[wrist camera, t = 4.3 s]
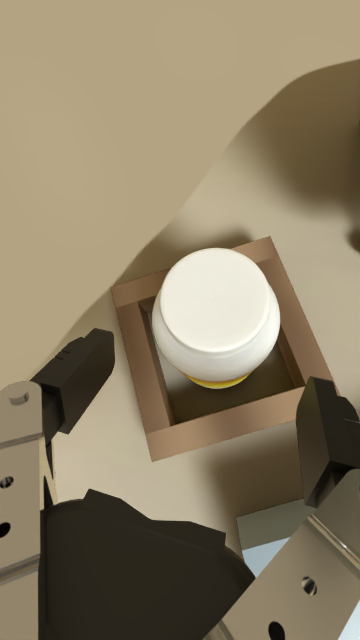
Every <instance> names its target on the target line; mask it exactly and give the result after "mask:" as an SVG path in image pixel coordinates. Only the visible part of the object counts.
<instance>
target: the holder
mask: <svg viewBox="0 0 360 640" xmlns="http://www.w3.org/2000/svg"><path fill="white" fill-rule="evenodd" d="M230 250H233V251H236V252H239V253H241V254H243V255H245V256H246V257H248V258H249V259H251V260H252V261H253V262H254V263H255V264H256V265H257V266H258V267H259V269H260V270H261V271H262V273H263V274H264V276H265V278H266V280H267V282H268V284H269V285H270V287H271V288H272V290H273V292H274V294H275V296H276V299H277V302H278V305H279V310H280V328H279V333H278V337H277V340H276V341H277V343H278V346H279V348H280V351H281V353H282V356H283V358H284V361H285V364H286V366H287V369H288V371H289V374H290V376H291V379H292V381H293V384H294V386H295V388H293V389H289V390H286V391H283V392H279V393H276V394H273V395H270V396H266V397H263V398H260V399H256V400H253V401H250V402H246V403H243V404H240V405H236V406H233V407H230V408H226V409H223V410H220V411H216V412H213V413H210V414H206V415H203V416H200V417H196V418H193V419H190V420H187V421H183V422H180V423H177V424H176V420H175V417H174V413H173V409H172V406H171V402H170V398H169V394H168V391H167V387H166V383H165V379H164V376H163V372H162V368H161V365H160V361H159V357H158V353H157V350H156V346H155V342H154V339H153V335H152V331H151V327H150V324H149V320H148V316H147V313H146V312H149V311H152V310H153V306H154V303H155V300H156V297H157V295H158V293H159V291H160V289H161V287H162V284H163V282H164V280H165V277H166V276H167V274H168V273H169V271H170V270H171V268H170V269H167V270H164V271H161V272H158V273H154V274H151V275H148V276H145V277H142V278H139V279H136V280H133V281H130V282H127V283H124V284H121V285H118V286H114V287H111V291H112V295H113V299H114V304H115V308H116V312H117V316H118V320H119V325H120V329H121V333H122V337H123V342H124V346H125V350H126V354H127V359H128V363H129V367H130V371H131V375H132V380H133V384H134V388H135V392H136V397H137V401H138V405H139V409H140V414H141V418H142V422H143V426H144V430H145V435H146V439H147V443H148V447H149V452H150V456H151V460H152V462H154V461H157V460H161V459H164V458H167V457H171V456H174V455H177V454H181V453H184V452H188V451H191V450H194V449H198V448H201V447H204V446H208V445H211V444H215V443H218V442H221V441H225V440H228V439H231V438H235V437H238V436H242V435H245V434H248V433H252V432H255V431H258V430H262V429H265V428H269V427H272V426H275V425H279V424H282V423H285V422H289V421H292V420H295V419H296V411H297V406H298V403H299V401H300V398H301V396H302V393H303V391H304V388H305V386H306V383H307V381H308V379H309V377H310V376H314V377H319V378H323V379H328V380H332V381H333V382H334V380H333V378H332V376H331V373H330V371H329V369H328V367H327V364H326V362H325V360H324V357H323V355H322V353H321V351H320V348H319V346H318V344H317V342H316V339H315V337H314V335H313V332H312V330H311V328H310V326H309V323H308V321H307V319H306V317H305V314H304V312H303V310H302V307H301V305H300V303H299V301H298V298H297V296H296V294H295V292H294V289H293V287H292V285H291V282H290V280H289V278H288V276H287V273H286V271H285V269H284V267H283V264H282V262H281V260H280V257H279V255H278V253H277V251H276V248H275V246H274V244H273V242H272V239H271V237H270V236H268V237H265V238H262V239H259V240H256V241H253V242H250V243H247V244H244V245H241V246H238V247H235V248H231V249H230ZM334 385H335V382H334ZM335 389H336V392H337V396H340V394H339V392H338V389H337V387H336V385H335Z"/></svg>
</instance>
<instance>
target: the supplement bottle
mask: <svg viewBox="0 0 360 640" xmlns="http://www.w3.org/2000/svg"><path fill="white" fill-rule="evenodd" d="M152 327H153V333H154V336H155V340H156V342H157V344H158V346H159V348H160V350H161V352H162V353H163V355H164V356H165V357H166V359H167V360H168V361H169V362H170V363H171V364H172V365H173V366H174V367H176V368H177V369H178V370H179V371H181V372H182V373H183V374H184V375H186V376H187V377H188V378H189V379H190V380H192V381H193V382H195V383H196V384H198V385H201V386H203V387H207V388H212V389H221V388H227V387H230V386H233V385H236V384H238V383H239V382H241V381H242V380H244V379H245V378H246V377H247V376H248V375H249V374H250V373H251V372H253V371H254V370H255V369H256V368H257V367H258V366H259V365H260V364H261V363H262V362H263V361H264V360H265V359H266V357H267V356H268V355H269V353H270V352H271V350H272V348H273V347H274V345H275V342H276V340H277V337H278V333H279V328H280V310H279V305H278V302H277V299H276V296H275V294H274V292H273V290H272V288H271V287H270V285H269V284H268V282H267V280H266V278H265V276H264V274H263V273H262V271H261V270H260V269H259V267H258V266H257V265H256V264H255V263H254V262H253V261H252V260H251V259H249V258H248V257H246V256H245V255H243V254H241V253H239V252H236V251H233V250H230V249H224V248H207V249H202V250H198V251H196V252H193V253H191V254H189V255H187V256H185V257H184V258H182V259H181V260H180V261H178V262H177V263H176V264H175V265H174V266H173V267H172V268H171V270H170V271H169V273H168V274H167V276H166V277H165V280H164V282H163V284H162V287H161V289H160V291H159V293H158V295H157V297H156V300H155V303H154V306H153V312H152Z"/></svg>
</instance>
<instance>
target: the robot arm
mask: <svg viewBox="0 0 360 640" xmlns="http://www.w3.org/2000/svg"><path fill="white" fill-rule="evenodd" d="M114 364H115V352H114V335H113V333H112V332H110V331H106V330H101V329H97V328H94V329H93V330H92V331H91V332H90V333H89V334H88V335H87V336H86V337H85V338H83V337H80V338H78V339H76V340H74V341H72V342H70V343H68V344H67V345H66V346H65V347H64V348H63V349H62V350H61V352H59V353H58V354H57V355H56V356H55V358H53V359H52V360H51V361H50V362H49V363H48V364H47V365H46V366H44V367H43V368H42V369H41V370H40V371H39V372H38V373H37V374H36V375H35V376H34V377H33V378H32V379H31V380H30V381H22V382H17V383H14V384H11V385H9V386H7V387H5V388H4V389H2V390H1V391H0V640H338V639H339V637H340V635H341V633H342V631H343V629H344V628H345V626H346V624H347V622H348V620H349V619H350V617H351V615H352V613H353V611H354V609H355V608H356V606H357V604H358V602H359V600H360V421H359V418H358V415H357V412H356V409H355V408H354V407H353V406H352V405H351V403H350V402H349V401H348V400H347V398H345V397H341V396H337V392H336V389H335V385H334V382H333V381H332V380H328V379H323V378H319V377H314V376H310V377H309V379H308V381H307V383H306V386H305V388H304V391H303V393H302V396H301V398H300V401H299V403H298V406H297V411H296V428H297V437H298V447H299V456H300V466H301V475H302V485H303V495H304V504H305V505H306V506H309V507H313V508H316V509H317V510H316V511H315V512H314V513H313V514H312V515H309V516H308V517H307V518H306V519H305V521H304V522H303V523H302V524H301V525H300V526H299V528H298V529H297V530H296V531H295V532H294V534H293V535H292V536H291V537H290V538H289V540H288V541H287V542H286V543H285V544H284V546H283V547H282V548H281V549H280V550H279V552H278V553H277V554H276V555H275V556H274V557H273V559H272V560H271V561H270V562H269V563H268V565H267V566H266V567H265V568H264V569H263V571H262V572H261V573H260V574H259V575H258V577H257V578H256V577H255V575H254V574H253V573H252V571H251V570H250V569H249V567H248V566H247V565H246V564H245V562H244V561H243V560H242V559H241V558H240V557H239V556H238V555H237V554H236V553H234V552H233V551H232V550H231V549H229V548H228V547H226V546H225V537H226V533H224V532H221V531H218V530H215V529H212V528H208V527H205V526H202V525H199V524H196V523H193V522H190V521H160V520H151V519H149V518H147V517H146V516H144V515H143V514H142V513H140V512H139V511H137V510H136V509H134V508H133V507H132V506H130V505H129V504H127V503H126V502H124V501H123V500H122V499H120V498H117V497H114V496H111V495H107V494H104V493H101V492H98V491H95V490H92V489H89V490H88V491H87V493H86V495H85V497H84V499H75V500H69V501H65V502H61V503H58V500H57V493H56V483H55V465H54V447H53V439H52V438H53V437H54V436H55V434H56V433H57V432H58V431H59V432H62V433H65V434H69V433H70V431H71V430H72V429H73V427H74V426H75V424H76V423H77V422H78V420H79V419H80V417H81V416H82V414H83V413H84V412H85V410H86V409H87V407H88V406H89V405H90V403H91V402H92V400H93V399H94V398H95V396H96V395H97V393H98V392H99V390H100V389H101V388H102V386H103V385H104V383H105V382H106V381H107V379H108V378H109V376H110V375H111V373H112V371H113V368H114Z"/></svg>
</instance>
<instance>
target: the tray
mask: <svg viewBox="0 0 360 640" xmlns="http://www.w3.org/2000/svg"><path fill="white" fill-rule="evenodd" d="M316 510H317V509H316V508H313V507H309V506H306V505H305V504H304V498H303V499H299V500H296V501H292V502H289V503H285V504H282V505H278V506H275V507H271V508H268V509H264V510H261V511H257V512H254V513H250V514H247V515H243V516H240V517H236V518H237V524H238V531H239V537H240V544H241V550H242V554H243V557H244V560H245V564H246V565H247V566H248V567H249V569H250V570H251V571H252V573H253V574H254V575H255V577H256V578H257V577H258V575H259V574H260V573H261V572H262V571H263V569H264V568H265V567H266V566H267V565H268V563H269V562H270V561H271V560H272V559H273V557H274V556H275V555H276V554H277V553H278V552H279V550H280V549H281V548H282V547H283V546H284V544H285V543H286V542H287V541H288V540H289V538H290V537H291V536H292V535H293V534H294V532H295V531H296V530H297V529H298V528H299V526H300V525H301V524H302V523H303V522H304V521H305V519H306V518H307V517H308V516H309V515H312V514H313V513H314V512H315V511H316ZM338 640H360V600H359V602H358V604H357V606H356V608H355V609H354V611H353V613H352V615H351V617H350V619H349V620H348V622H347V624H346V626H345V628H344V629H343V631H342V633H341V635H340V637H339V639H338Z"/></svg>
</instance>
